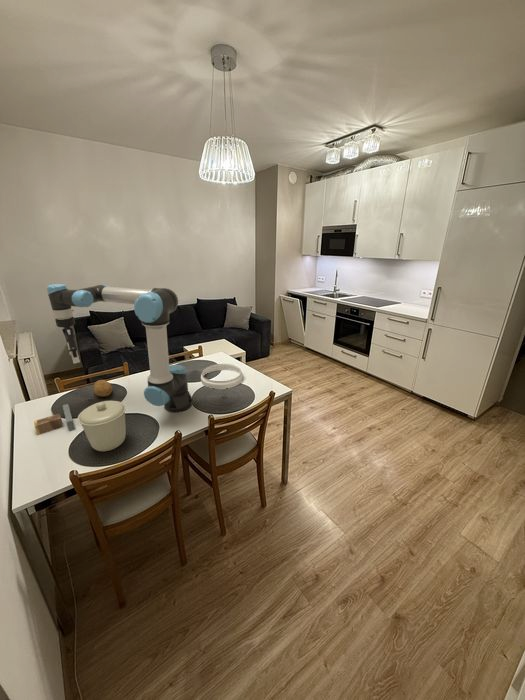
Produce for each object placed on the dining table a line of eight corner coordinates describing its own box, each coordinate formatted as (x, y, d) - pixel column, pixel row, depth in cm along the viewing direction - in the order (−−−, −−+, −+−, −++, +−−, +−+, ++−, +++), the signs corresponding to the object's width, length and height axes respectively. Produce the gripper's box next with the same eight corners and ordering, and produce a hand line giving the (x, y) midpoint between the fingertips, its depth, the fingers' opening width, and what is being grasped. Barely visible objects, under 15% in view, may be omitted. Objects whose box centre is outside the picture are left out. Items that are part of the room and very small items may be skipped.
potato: (97, 403, 156) (94, 390, 153) (92, 392, 166) (89, 380, 163) (116, 397, 162) (114, 385, 159) (110, 387, 172) (108, 376, 169)
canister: (118, 425, 137) (109, 387, 130) (139, 440, 128) (132, 400, 120) (78, 446, 123) (66, 405, 116) (99, 464, 114) (88, 421, 106)
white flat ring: (231, 367, 202) (231, 360, 200) (250, 382, 180) (250, 375, 178) (195, 376, 188) (194, 368, 186) (210, 393, 167) (210, 385, 165)
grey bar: (75, 429, 135) (72, 420, 133) (69, 430, 133) (66, 422, 131) (70, 411, 148) (68, 403, 146) (64, 413, 146) (62, 405, 144)
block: (60, 418, 134) (34, 426, 128) (63, 426, 136) (37, 435, 130) (59, 413, 138) (34, 420, 132) (62, 421, 140) (37, 429, 134)
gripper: (77, 322, 127) (87, 364, 135) (70, 311, 145) (79, 349, 153) (57, 324, 122) (69, 368, 130) (52, 313, 140) (63, 352, 148)
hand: (74, 358), depth 142 cm, fingers open, 13 cm apart
